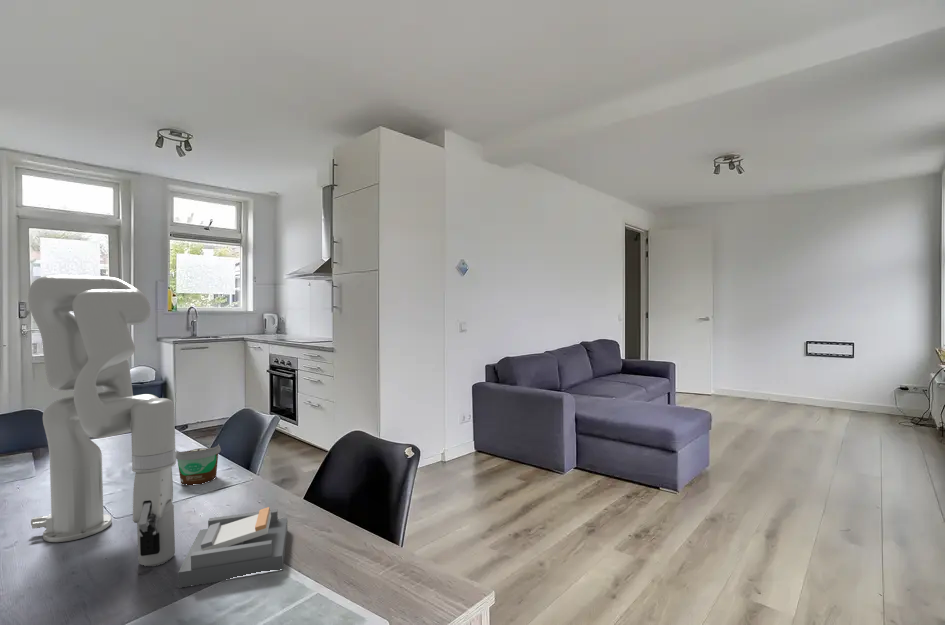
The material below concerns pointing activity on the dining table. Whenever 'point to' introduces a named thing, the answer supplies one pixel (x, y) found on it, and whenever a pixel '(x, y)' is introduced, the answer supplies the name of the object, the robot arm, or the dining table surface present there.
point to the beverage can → (161, 539)
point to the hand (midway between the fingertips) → (156, 544)
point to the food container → (198, 465)
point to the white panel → (237, 531)
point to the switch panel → (235, 554)
